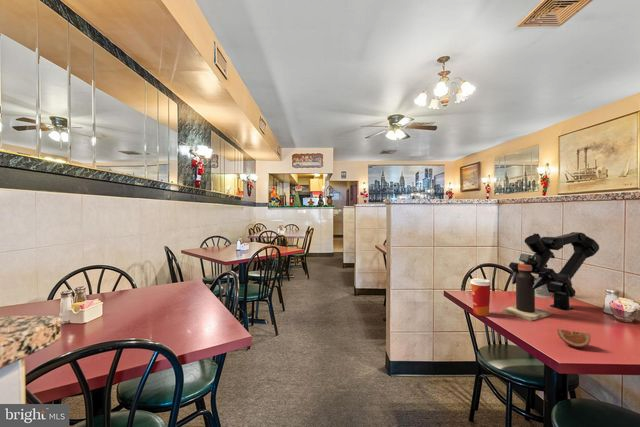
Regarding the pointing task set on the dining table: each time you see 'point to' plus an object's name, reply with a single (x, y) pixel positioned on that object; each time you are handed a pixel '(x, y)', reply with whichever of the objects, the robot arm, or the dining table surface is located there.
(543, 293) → the french press
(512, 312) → the napkin
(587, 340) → the fruit slice
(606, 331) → the dining table surface
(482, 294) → the coffee cup
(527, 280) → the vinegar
